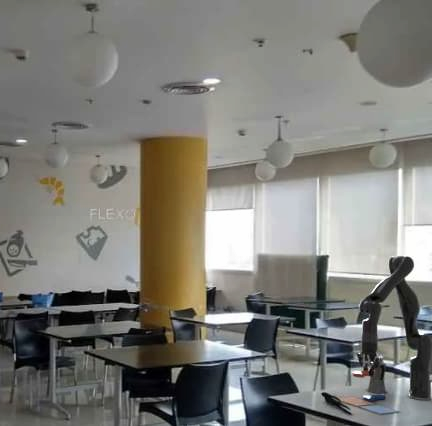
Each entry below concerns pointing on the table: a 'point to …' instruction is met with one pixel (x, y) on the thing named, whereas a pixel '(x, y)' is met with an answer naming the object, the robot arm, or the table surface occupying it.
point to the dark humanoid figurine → (335, 402)
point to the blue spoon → (374, 397)
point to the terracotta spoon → (362, 374)
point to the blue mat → (379, 409)
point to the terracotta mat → (355, 401)
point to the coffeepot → (378, 380)
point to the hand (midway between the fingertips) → (368, 375)
